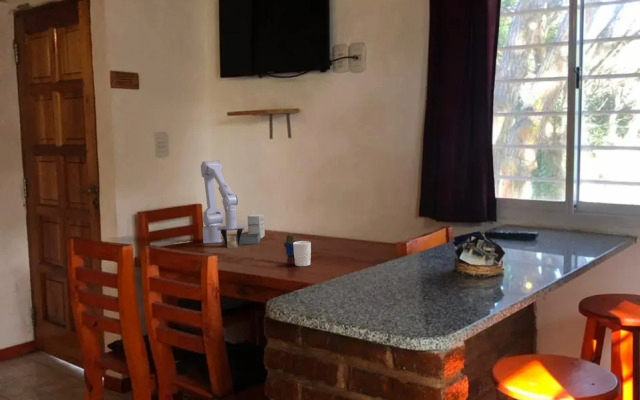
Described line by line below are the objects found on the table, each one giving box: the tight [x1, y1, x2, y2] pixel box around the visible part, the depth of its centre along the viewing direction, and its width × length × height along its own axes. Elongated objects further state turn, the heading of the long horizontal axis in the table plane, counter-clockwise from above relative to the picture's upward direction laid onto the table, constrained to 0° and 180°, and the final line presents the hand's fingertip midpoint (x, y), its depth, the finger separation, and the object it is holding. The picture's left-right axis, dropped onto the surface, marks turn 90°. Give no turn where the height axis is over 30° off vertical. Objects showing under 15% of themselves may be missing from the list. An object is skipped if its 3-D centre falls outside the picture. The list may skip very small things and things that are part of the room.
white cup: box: [292, 240, 312, 267], centre depth 290 cm, size 8×8×10 cm
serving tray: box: [230, 233, 262, 246], centre depth 350 cm, size 16×14×4 cm
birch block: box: [226, 234, 238, 249], centre depth 339 cm, size 4×4×6 cm
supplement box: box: [247, 213, 266, 239], centre depth 364 cm, size 7×7×13 cm
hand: (232, 244), depth 339 cm, fingers open, 6 cm apart
